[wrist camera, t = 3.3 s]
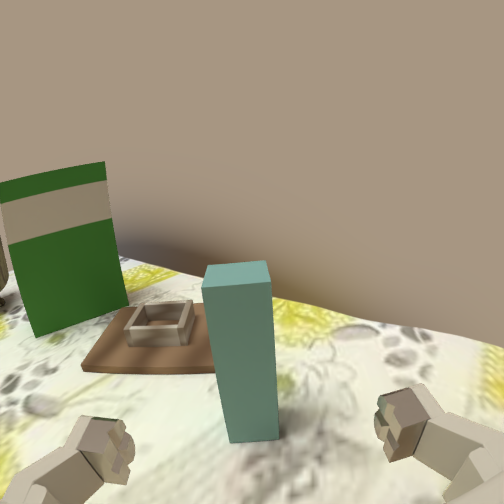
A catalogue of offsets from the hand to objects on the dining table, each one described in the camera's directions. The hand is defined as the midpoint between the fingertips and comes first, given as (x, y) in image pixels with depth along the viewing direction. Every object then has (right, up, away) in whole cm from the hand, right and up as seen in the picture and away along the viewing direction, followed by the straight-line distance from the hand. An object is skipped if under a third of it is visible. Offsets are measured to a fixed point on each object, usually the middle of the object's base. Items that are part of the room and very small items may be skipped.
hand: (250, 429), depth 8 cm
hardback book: (-30, -5, +38) cm, 48 cm away
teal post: (0, -9, +15) cm, 18 cm away
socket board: (-11, -6, +30) cm, 33 cm away
